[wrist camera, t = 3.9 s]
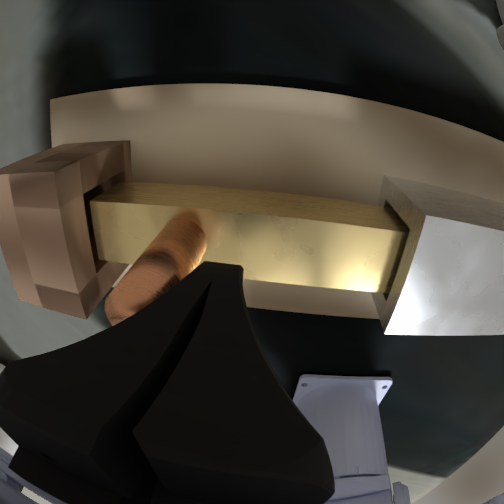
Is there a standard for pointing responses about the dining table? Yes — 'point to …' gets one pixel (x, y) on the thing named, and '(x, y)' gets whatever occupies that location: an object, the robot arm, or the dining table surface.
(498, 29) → the teacup
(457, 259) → the steel block
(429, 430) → the dining table surface
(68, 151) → the walnut socket
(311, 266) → the gold square bar
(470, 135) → the birch board
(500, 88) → the dining table surface
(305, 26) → the dining table surface
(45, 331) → the dining table surface
